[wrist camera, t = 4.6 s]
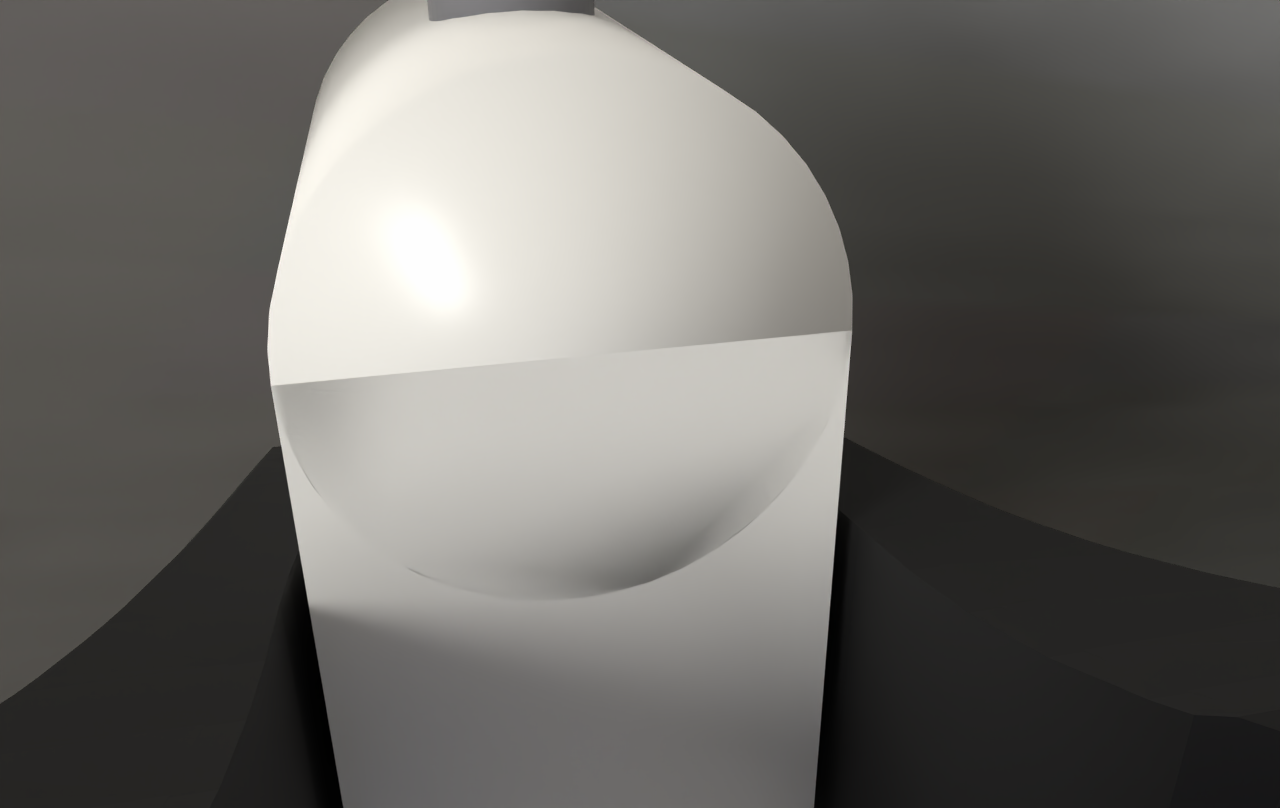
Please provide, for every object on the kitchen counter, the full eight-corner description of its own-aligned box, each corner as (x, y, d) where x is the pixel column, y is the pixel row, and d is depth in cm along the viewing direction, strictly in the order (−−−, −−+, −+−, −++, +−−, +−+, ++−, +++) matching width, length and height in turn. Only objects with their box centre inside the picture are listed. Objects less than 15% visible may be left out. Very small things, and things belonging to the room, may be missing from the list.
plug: (258, -209, 9) (158, -273, 5) (665, -208, 10) (900, -263, 6) (416, 914, 15) (434, 1340, 11) (665, 866, 16) (778, 1252, 11)
